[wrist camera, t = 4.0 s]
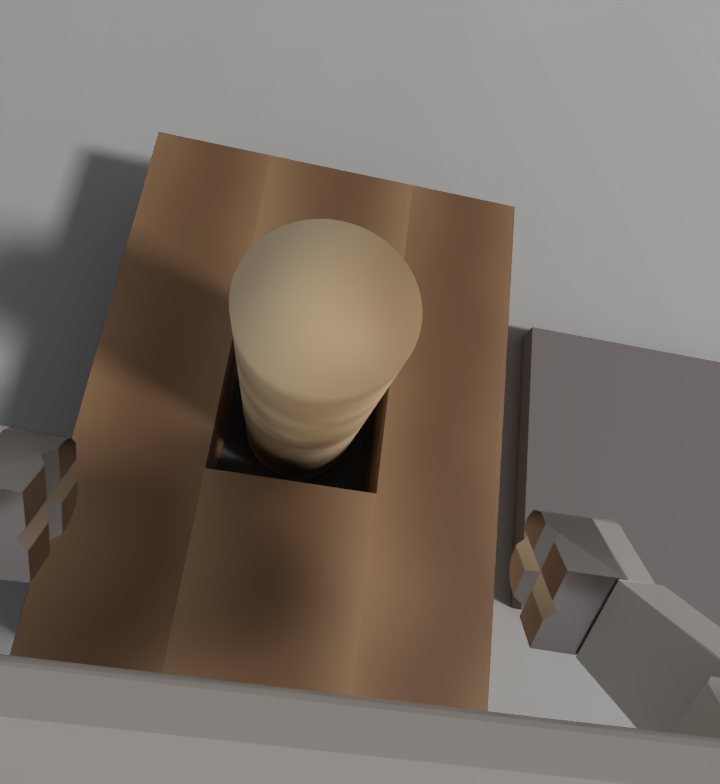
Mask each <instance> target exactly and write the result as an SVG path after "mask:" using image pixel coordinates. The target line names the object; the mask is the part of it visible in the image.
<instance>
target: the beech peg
mask: <svg viewBox="0 0 720 784" xmlns="http://www.w3.org/2000/svg"><path fill="white" fill-rule="evenodd" d="M422 312H423V309H422V300H421V295H420V291H419V287H418V284H417V282H416V279H415V277H414V275H413V273H412V271H411V269H410V268H409V266H408V265H407V263H406V262H405V260H404V259H403V258H402V256H401V255H400V254H399V253H398V252H397V251H396V250H395V249H394V248H393V247H392V246H391V245H390V244H389V243H387V242H386V241H385V240H384V239H382V238H381V237H379V236H378V235H376V234H375V233H373V232H371V231H369V230H367V229H365V228H363V227H360V226H357V225H355V224H352V223H348V222H344V221H339V220H332V219H309V220H302V221H297V222H293V223H290V224H287V225H284V226H281V227H279V228H277V229H275V230H273V231H271V232H270V233H268V234H267V235H265V236H264V237H262V238H261V239H260V240H258V241H257V242H256V243H255V244H254V245H253V246H252V247H251V248H250V249H249V250H248V252H247V253H246V254H245V255H244V257H243V258H242V260H241V261H240V263H239V265H238V267H237V269H236V271H235V273H234V276H233V279H232V283H231V286H230V293H229V313H230V320H231V327H232V334H233V341H234V348H235V355H236V362H237V369H238V376H239V383H240V390H241V397H242V404H243V411H244V418H245V425H246V432H247V439H248V442H249V445H250V447H251V450H252V452H253V453H254V455H255V456H256V458H257V459H258V460H259V461H260V463H262V464H263V465H264V466H265V467H266V468H268V469H269V470H270V471H272V472H274V473H276V474H278V475H281V476H284V477H288V478H297V479H299V478H309V477H313V476H316V475H319V474H321V473H323V472H325V471H326V470H328V469H330V468H331V467H332V466H333V465H334V464H335V463H336V462H337V461H338V460H339V459H340V458H341V456H342V455H343V453H344V452H345V450H346V449H347V447H348V446H349V444H350V443H351V442H352V440H353V439H354V437H355V436H356V434H357V433H358V431H359V430H360V428H361V427H362V425H363V424H364V423H365V421H366V420H367V418H368V417H369V415H370V414H371V412H372V411H373V409H374V408H375V406H376V405H377V404H378V402H379V401H380V399H381V398H382V396H383V395H384V393H385V392H386V390H387V389H388V387H389V386H390V384H391V383H392V382H393V380H394V379H395V377H396V376H397V374H398V373H399V371H400V370H401V368H402V367H403V365H404V364H405V363H406V361H407V360H408V358H409V357H410V355H411V354H412V352H413V350H414V348H415V346H416V344H417V341H418V338H419V335H420V331H421V325H422Z"/></svg>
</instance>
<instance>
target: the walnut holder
mask: <svg viewBox="0 0 720 784" xmlns="http://www.w3.org/2000/svg"><path fill="white" fill-rule="evenodd" d="M514 209H515V207H513V206H508V205H503V204H498V203H494V202H489V201H484V200H479V199H475V198H470V197H465V196H460V195H456V194H451V193H446V192H441V191H437V190H432V189H427V188H422V187H418V186H413V185H408V184H403V183H399V182H394V181H389V180H384V179H380V178H375V177H370V176H365V175H361V174H356V173H351V172H346V171H342V170H337V169H332V168H327V167H323V166H318V165H313V164H308V163H304V162H299V161H294V160H289V159H285V158H280V157H275V156H270V155H266V154H261V153H256V152H251V151H247V150H242V149H237V148H232V147H228V146H223V145H218V144H213V143H209V142H204V141H199V140H194V139H190V138H185V137H180V136H175V135H171V134H166V133H161V132H159V133H158V137H157V140H156V144H155V147H154V151H153V154H152V158H151V161H150V165H149V168H148V172H147V175H146V179H145V182H144V186H143V189H142V193H141V196H140V200H139V203H138V207H137V210H136V214H135V217H134V221H133V224H132V228H131V231H130V235H129V238H128V242H127V245H126V249H125V252H124V256H123V260H122V263H121V267H120V270H119V274H118V277H117V281H116V284H115V288H114V291H113V295H112V298H111V302H110V305H109V309H108V312H107V316H106V319H105V323H104V326H103V330H102V333H101V337H100V340H99V344H98V347H97V351H96V354H95V358H94V361H93V365H92V368H91V372H90V375H89V379H88V382H87V386H86V389H85V393H84V396H83V400H82V403H81V407H80V410H79V414H78V417H77V421H76V424H75V428H74V431H73V435H72V439H73V440H74V441H75V442H76V455H77V459H76V461H75V462H74V463H73V465H72V466H71V468H70V469H69V470H70V471H71V473H72V474H73V475H74V476H75V478H76V479H77V481H78V493H77V500H76V506H75V509H74V512H73V514H72V517H71V520H70V522H69V524H68V526H67V527H66V529H65V530H64V532H63V534H61V535H59V536H57V537H55V538H53V539H51V540H49V541H50V554H49V555H48V557H47V558H46V560H45V561H44V563H43V564H42V566H41V567H40V569H39V571H38V572H37V574H36V575H35V577H34V578H33V580H32V581H31V583H30V586H29V589H28V593H27V596H26V600H25V603H24V607H23V610H22V614H21V617H20V621H19V624H18V628H17V631H16V635H15V638H14V642H13V645H12V649H11V652H10V655H12V656H20V657H29V658H37V659H46V660H54V661H63V662H72V663H80V664H89V665H97V666H106V667H114V668H123V669H131V670H140V671H148V672H157V673H166V674H174V675H183V676H191V677H200V678H208V679H217V680H226V681H234V682H243V683H251V684H260V685H269V686H277V687H286V688H294V689H303V690H312V691H320V692H329V693H337V694H346V695H354V696H363V697H372V698H380V699H389V700H397V701H405V702H414V703H422V704H430V705H439V706H447V707H456V708H464V709H472V710H481V711H488V692H489V673H490V655H491V636H492V618H493V599H494V581H495V562H496V544H497V525H498V506H499V488H500V469H501V451H502V432H503V414H504V395H505V376H506V358H507V339H508V321H509V302H510V284H511V265H512V247H513V228H514ZM309 219H332V220H339V221H344V222H348V223H352V224H355V225H357V226H360V227H363V228H365V229H367V230H369V231H371V232H373V233H375V234H376V235H378V236H379V237H381V238H382V239H384V240H385V241H386V242H387V243H389V244H390V245H391V246H392V247H393V248H394V249H395V250H396V251H397V252H398V253H399V254H400V255H401V256H402V258H403V259H404V260H405V262H406V263H407V265H408V266H409V268H410V269H411V271H412V273H413V275H414V277H415V279H416V282H417V284H418V287H419V291H420V295H421V300H422V309H423V312H422V325H421V331H420V335H419V338H418V341H417V344H416V346H415V348H414V350H413V352H412V354H411V355H410V357H409V358H408V360H407V361H406V363H405V364H404V365H403V367H402V368H401V370H400V371H399V373H398V374H397V376H396V377H395V379H394V380H393V382H392V383H391V384H390V386H389V387H388V389H387V390H386V392H385V393H384V395H383V396H382V398H381V399H380V401H379V402H378V404H377V405H376V406H375V408H374V409H373V411H372V412H371V414H370V415H369V423H368V431H367V439H366V447H365V455H364V463H363V470H362V478H361V486H360V491H355V490H348V489H342V488H335V487H328V486H322V485H315V484H309V483H302V482H295V481H289V480H282V479H275V478H269V477H262V476H255V475H249V474H242V473H235V472H229V471H222V470H219V465H220V460H221V455H222V450H223V445H224V441H225V436H226V431H227V426H228V421H229V416H230V411H231V406H232V401H233V396H234V391H235V386H236V381H237V376H238V369H237V362H236V355H235V348H234V341H233V334H232V327H231V320H230V313H229V293H230V286H231V283H232V279H233V276H234V273H235V271H236V269H237V267H238V265H239V263H240V261H241V260H242V258H243V257H244V255H245V254H246V253H247V252H248V250H249V249H250V248H251V247H252V246H253V245H254V244H255V243H256V242H257V241H258V240H260V239H261V238H262V237H264V236H265V235H267V234H268V233H270V232H271V231H273V230H275V229H277V228H279V227H281V226H284V225H287V224H290V223H293V222H297V221H302V220H309Z"/></svg>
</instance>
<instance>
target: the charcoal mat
mask: <svg viewBox="0 0 720 784" xmlns="http://www.w3.org/2000/svg"><path fill="white" fill-rule="evenodd" d="M533 510H540V511H547V512H554V513H561V514H568V515H575V516H581V517H595V518H603V519H611V520H614V521H615V522H617V523H618V524H619V525H620V527H621V528H622V530H623V532H624V533H625V535H626V537H627V538H628V540H629V541H630V543H631V545H632V546H633V548H634V550H635V551H636V553H637V554H638V556H639V558H640V559H641V561H642V563H643V564H644V566H645V568H646V569H647V571H648V572H649V574H650V576H651V577H652V579H653V581H654V582H655V584H656V585H663V586H665V587H667V588H668V589H669V590H671V591H672V592H673V593H675V594H676V595H677V596H679V597H680V598H681V599H683V600H684V601H685V602H687V603H688V604H689V605H691V606H692V607H693V608H695V609H696V610H698V611H699V612H700V613H702V614H703V615H704V616H706V617H707V618H708V619H710V620H711V621H712V622H714V623H715V624H716V625H718V626H719V627H720V363H719V362H714V361H709V360H703V359H698V358H693V357H687V356H682V355H677V354H671V353H666V352H661V351H655V350H650V349H645V348H639V347H634V346H629V345H623V344H618V343H613V342H607V341H602V340H597V339H592V338H586V337H581V336H576V335H570V334H565V333H560V332H554V331H549V330H544V329H538V328H531V329H530V330H529V331H528V332H527V333H526V334H525V335H524V340H523V363H522V385H521V407H520V430H519V452H518V474H517V497H516V519H515V541H514V549H515V546H516V545H517V544H518V543H519V542H521V541H522V540H524V539H525V538H527V537H528V536H527V534H526V531H525V528H524V525H525V522H526V520H527V518H528V516H529V515H530V513H531V512H532V511H533ZM512 608H516V609H523V608H524V606H523V605H522V604H521V603H520V602H519V601H518V600H517V599H516V598H515V597H514V596H513V593H512Z"/></svg>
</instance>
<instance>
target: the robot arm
mask: <svg viewBox="0 0 720 784" xmlns="http://www.w3.org/2000/svg"><path fill="white" fill-rule="evenodd" d="M76 459H77V455H76V442H75V441H74V440H73V439H72V438H71V437H66V436H60V435H55V434H49V433H43V432H38V431H32V430H26V429H21V428H15V427H8V426H3V425H0V580H7V581H17V582H27V583H31V581H32V580H33V578H34V577H35V575H36V574H37V572H38V571H39V569H40V567H41V566H42V564H43V563H44V561H45V560H46V558H47V557H48V555H49V554H50V541H49V540H51V539H53V538H55V537H57V536H59V535H61V534H63V532H64V530H65V529H66V527H67V526H68V524H69V522H70V520H71V517H72V514H73V512H74V509H75V506H76V500H77V493H78V481H77V479H76V478H75V476H74V475H73V474H72V473H71V471H70V470H69V469H70V468H71V466H72V465H73V463H74V462H75V461H76ZM524 528H525V531H526V534H527V536H528V537H527V538H525V539H524V540H522V541H521V542H519V543H518V544H517V545H516V546H515V549H514V551H513V554H512V557H511V560H510V569H509V578H510V586H511V589H512V593H513V596H514V597H515V598H516V599H517V600H518V601H519V602H520V603H521V604H522V605H523V606H524V608H523V610H522V612H521V615H520V618H521V622H522V625H523V628H524V631H525V634H526V637H527V640H528V643H529V646H530V648H535V649H541V650H548V651H554V652H560V653H567V654H573V655H577V656H576V658H577V659H578V660H579V661H580V663H581V664H582V665H583V666H584V667H585V668H586V669H587V671H588V672H589V673H590V674H591V675H592V676H593V678H594V679H595V680H596V681H597V682H598V683H599V685H600V686H601V687H602V688H603V689H604V690H605V692H606V693H607V694H608V695H609V696H610V697H611V699H612V700H613V701H614V702H615V703H616V704H617V705H618V707H619V708H620V709H621V710H622V711H623V712H624V714H625V715H626V716H627V717H628V718H629V719H630V721H631V722H632V723H633V724H634V725H635V726H636V728H637V729H636V728H627V727H618V726H609V725H601V724H592V723H583V722H574V721H565V720H557V719H548V718H539V717H531V716H523V715H514V714H506V713H497V712H489V711H481V710H472V709H464V708H456V707H447V706H439V705H430V704H422V703H414V702H405V701H397V700H389V699H380V698H372V697H363V696H354V695H346V694H337V693H329V692H320V691H312V690H303V689H294V688H286V687H277V686H269V685H260V684H251V683H243V682H234V681H226V680H217V679H208V678H200V677H191V676H183V675H174V674H166V673H157V672H148V671H140V670H131V669H123V668H114V667H106V666H97V665H89V664H80V663H72V662H63V661H54V660H46V659H37V658H29V657H20V656H12V655H3V654H0V784H720V627H719V626H718V625H716V624H715V623H714V622H712V621H711V620H710V619H708V618H707V617H706V616H704V615H703V614H702V613H700V612H699V611H698V610H696V609H695V608H693V607H692V606H691V605H689V604H688V603H687V602H685V601H684V600H683V599H681V598H680V597H679V596H677V595H676V594H675V593H673V592H672V591H671V590H669V589H668V588H667V587H665V586H663V585H656V584H655V582H654V581H653V579H652V577H651V576H650V574H649V572H648V571H647V569H646V568H645V566H644V564H643V563H642V561H641V559H640V558H639V556H638V554H637V553H636V551H635V550H634V548H633V546H632V545H631V543H630V541H629V540H628V538H627V537H626V535H625V533H624V532H623V530H622V528H621V527H620V525H619V524H618V523H617V522H615V521H614V520H611V519H603V518H595V517H581V516H575V515H568V514H561V513H554V512H547V511H540V510H533V511H532V512H531V513H530V515H529V516H528V518H527V520H526V522H525V525H524Z"/></svg>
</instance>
